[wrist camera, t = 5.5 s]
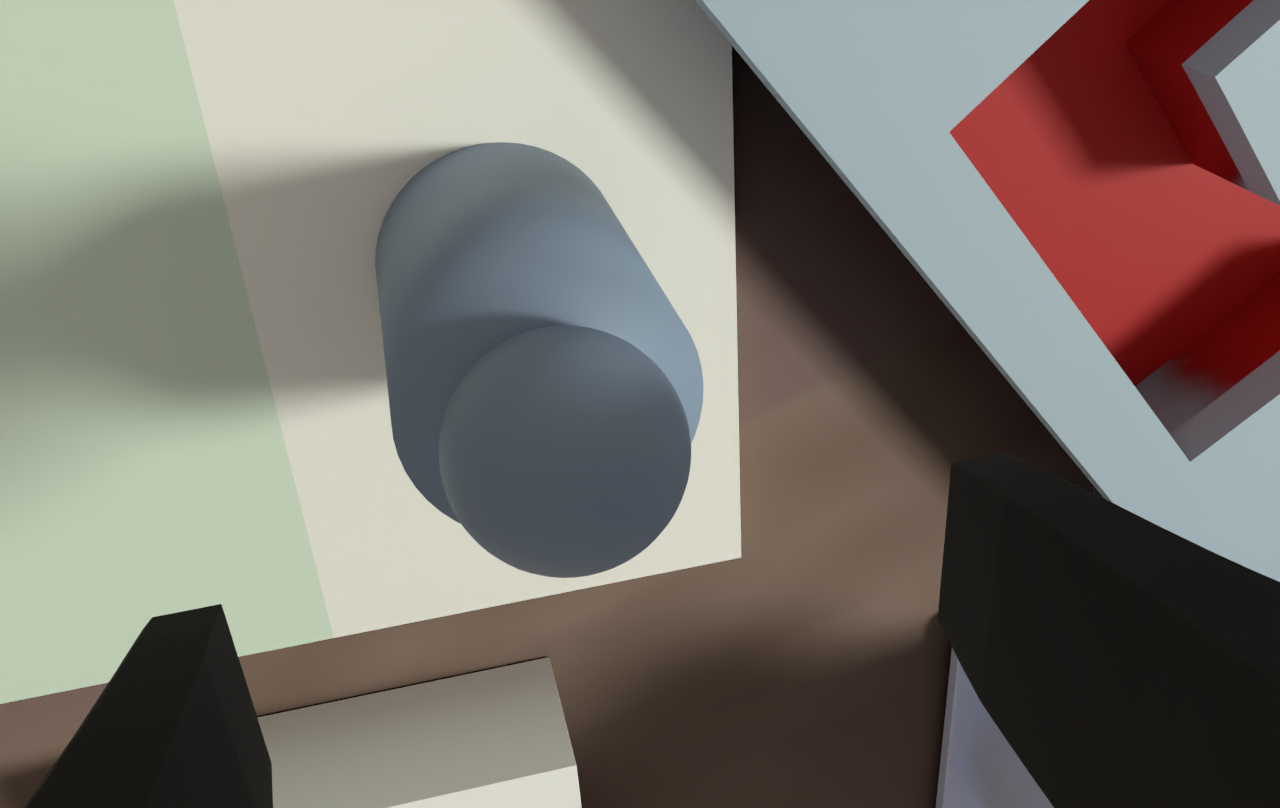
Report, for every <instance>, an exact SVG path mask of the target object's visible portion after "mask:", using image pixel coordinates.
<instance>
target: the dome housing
mask: <svg viewBox="0 0 1280 808" xmlns="http://www.w3.org/2000/svg"><path fill="white" fill-rule="evenodd" d="M257 718H258V722H259V725H260V728H261V731H262V734H263V737H264V741H265V744H266V747H267V750H268V753H269V757H270V760H271V763H272V792H273V808H582V806H581V797H580V789H579V781H578V773H577V765H576V761H575V757H574V753H573V749H572V745H571V741H570V737H569V733H568V729H567V725H566V721H565V717H564V713H563V709H562V705H561V701H560V697H559V693H558V689H557V685H556V681H555V677H554V673H553V669H552V665H551V661H550V657H547V658H542V659H538V660H533V661H528V662H523V663H518V664H513V665H509V666H504V667H499V668H494V669H489V670H484V671H480V672H475V673H470V674H465V675H460V676H455V677H451V678H446V679H441V680H436V681H431V682H426V683H422V684H417V685H412V686H407V687H402V688H397V689H393V690H388V691H383V692H378V693H373V694H368V695H364V696H359V697H354V698H349V699H344V700H339V701H335V702H330V703H325V704H320V705H315V706H310V707H306V708H301V709H296V710H291V711H286V712H281V713H277V714H272V715H267V716H262V717H257Z"/></svg>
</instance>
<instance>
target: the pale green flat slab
mask: <svg viewBox="0 0 1280 808" xmlns="http://www.w3.org/2000/svg"><path fill="white" fill-rule="evenodd" d="M496 142H508V143H520V144H525V145H530V146H535V147H538V148H541V149H544V150H547V151H550V152H552V153H554V154H556V155H558V156H560V157H562V158H564V159H566V160H568V161H569V162H570V163H572V164H573V165H575V166H576V167H578V168H579V169H580V170H581V171H582V172H583V173H585V174H586V175H587V176H588V177H589V178H590V179H591V180H592V181H593V183H594V184H595V185H596V186H597V187H598V189H599V190H600V191H601V193H602V194H603V196H604V198H605V199H606V201H607V202H608V204H609V206H610V207H611V209H612V210H613V212H614V214H615V215H616V217H617V218H618V220H619V221H620V223H621V225H622V226H623V228H624V229H625V231H626V233H627V234H628V236H629V237H630V239H631V241H632V242H633V244H634V245H635V247H636V249H637V250H638V252H639V253H640V255H641V257H642V258H643V260H644V261H645V263H646V265H647V266H648V268H649V269H650V271H651V273H652V274H653V276H654V277H655V279H656V280H657V282H658V284H659V285H660V287H661V288H662V290H663V292H664V293H665V295H666V296H667V298H668V300H669V301H670V303H671V304H672V306H673V308H674V309H675V311H676V312H677V314H678V316H679V317H680V319H681V320H682V322H683V324H684V325H685V327H686V328H687V330H688V331H689V333H690V335H691V337H692V340H693V342H694V344H695V347H696V349H697V352H698V355H699V359H700V363H701V367H702V375H703V384H704V386H703V405H702V410H701V416H700V421H699V424H698V427H697V430H696V433H695V436H694V439H693V441H692V443H691V465H690V472H689V478H688V483H687V486H686V489H685V492H684V495H683V497H682V500H681V502H680V504H679V507H678V509H677V511H676V513H675V514H674V516H673V518H672V519H671V521H670V522H669V524H668V525H667V526H666V528H665V529H664V530H663V531H662V532H661V534H660V535H659V536H658V537H657V538H656V539H655V540H654V541H653V542H652V543H651V544H650V545H649V546H648V547H647V548H646V549H645V550H643V551H642V552H641V553H639V554H638V555H637V556H635V557H634V558H632V559H630V560H629V561H627V562H625V563H623V564H621V565H619V566H617V567H615V568H613V569H610V570H607V571H604V572H601V573H597V574H593V575H589V576H583V577H576V578H556V577H547V576H542V575H537V574H532V573H528V572H525V571H522V570H519V569H517V568H515V567H513V566H510V565H508V564H506V563H504V562H503V561H501V560H499V559H498V558H496V557H495V556H493V555H492V554H490V553H489V552H487V551H486V550H485V549H484V548H483V547H482V546H480V545H479V544H478V543H477V542H476V541H475V540H474V539H473V538H472V537H471V535H470V534H469V533H468V532H467V531H466V530H465V529H464V527H463V526H462V524H460V523H458V522H456V521H454V520H453V519H451V518H450V517H448V516H447V515H445V514H443V513H442V512H440V511H439V510H438V509H437V508H436V507H435V506H433V505H432V504H431V503H430V502H429V501H427V500H426V498H425V497H424V496H423V495H422V494H421V493H420V492H419V491H418V489H417V488H416V487H415V486H414V484H413V483H412V481H411V480H410V478H409V477H408V475H407V474H406V472H405V470H404V468H403V466H402V463H401V461H400V459H399V457H398V454H397V451H396V447H395V443H394V440H393V434H392V425H391V417H390V407H389V397H388V387H387V377H386V367H385V357H384V347H383V337H382V327H381V317H380V308H379V298H378V288H377V278H376V268H375V258H376V246H377V240H378V234H379V231H380V228H381V225H382V222H383V219H384V217H385V215H386V213H387V211H388V209H389V207H390V205H391V203H392V202H393V200H394V199H395V198H396V196H397V195H398V193H399V192H400V190H401V189H402V188H403V187H404V186H405V185H406V184H407V183H408V181H409V180H410V179H411V178H412V177H414V176H415V175H416V174H417V173H418V172H419V171H421V170H422V169H423V168H424V167H426V166H428V165H429V164H431V163H432V162H434V161H435V160H437V159H439V158H441V157H443V156H445V155H447V154H449V153H451V152H453V151H456V150H459V149H462V148H465V147H468V146H473V145H479V144H484V143H496ZM736 558H741V521H740V466H739V412H738V358H737V304H736V250H735V195H734V141H733V87H732V45H731V44H730V42H729V41H728V40H727V39H726V38H725V36H724V35H723V34H722V33H721V31H720V30H719V29H718V28H717V27H716V25H715V24H714V23H713V22H712V21H711V19H710V18H709V17H708V16H707V14H706V13H705V12H704V11H703V10H702V8H701V7H700V6H699V5H698V3H697V2H696V1H695V0H0V704H2V703H7V702H12V701H17V700H22V699H27V698H32V697H37V696H43V695H48V694H53V693H58V692H63V691H68V690H73V689H78V688H83V687H88V686H93V685H98V684H103V683H108V682H109V681H110V680H111V678H112V677H113V675H114V673H115V672H116V670H117V669H118V667H119V666H120V664H121V662H122V661H123V659H124V658H125V656H126V655H127V653H128V651H129V650H130V648H131V647H132V645H133V644H134V642H135V640H136V639H137V637H138V636H139V634H140V633H141V631H142V630H143V628H144V627H145V626H146V625H147V623H148V622H149V621H150V619H151V618H152V617H156V616H162V615H167V614H172V613H177V612H182V611H187V610H193V609H198V608H203V607H208V606H213V605H219V604H222V607H223V611H224V614H225V617H226V620H227V623H228V626H229V630H230V633H231V636H232V639H233V642H234V646H235V649H236V652H237V655H238V657H240V656H245V655H250V654H255V653H260V652H265V651H270V650H275V649H280V648H285V647H291V646H296V645H301V644H306V643H311V642H316V641H321V640H326V639H331V638H336V637H341V636H346V635H351V634H356V633H361V632H366V631H371V630H377V629H382V628H387V627H392V626H397V625H402V624H407V623H412V622H417V621H422V620H427V619H432V618H437V617H442V616H447V615H452V614H458V613H463V612H468V611H473V610H478V609H483V608H488V607H493V606H498V605H503V604H508V603H513V602H518V601H523V600H528V599H533V598H538V597H544V596H549V595H554V594H559V593H564V592H569V591H574V590H579V589H584V588H589V587H594V586H599V585H604V584H609V583H614V582H619V581H625V580H630V579H635V578H640V577H645V576H650V575H655V574H660V573H665V572H670V571H675V570H680V569H685V568H690V567H695V566H700V565H705V564H711V563H716V562H721V561H726V560H731V559H736Z"/></svg>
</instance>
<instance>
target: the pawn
mask: <svg viewBox="0 0 1280 808" xmlns="http://www.w3.org/2000/svg"><path fill="white" fill-rule="evenodd" d="M375 268H376V278H377V288H378V298H379V308H380V317H381V327H382V337H383V347H384V357H385V367H386V377H387V387H388V397H389V407H390V417H391V425H392V434H393V440H394V443H395V447H396V451H397V454H398V457H399V459H400V461H401V463H402V466H403V468H404V470H405V472H406V474H407V475H408V477H409V478H410V480H411V481H412V483H413V484H414V486H415V487H416V488H417V489H418V491H419V492H420V493H421V494H422V495H423V496H424V497H425V498H426V500H427V501H429V502H430V503H431V504H432V505H433V506H435V507H436V508H437V509H438V510H439V511H440V512H442V513H443V514H445V515H447V516H448V517H450V518H451V519H453V520H454V521H456V522H458V523H460V524H462V526H463V527H464V529H465V530H466V531H467V532H468V533H469V534H470V535H471V537H472V538H473V539H474V540H475V541H476V542H477V543H478V544H479V545H480V546H482V547H483V548H484V549H485V550H486V551H487V552H489V553H490V554H492V555H493V556H495V557H496V558H498V559H499V560H501V561H503V562H504V563H506V564H508V565H510V566H513V567H515V568H517V569H519V570H522V571H525V572H528V573H532V574H537V575H542V576H547V577H556V578H576V577H583V576H589V575H593V574H597V573H601V572H604V571H607V570H610V569H613V568H615V567H617V566H619V565H621V564H623V563H625V562H627V561H629V560H630V559H632V558H634V557H635V556H637V555H638V554H639V553H641V552H642V551H643V550H645V549H646V548H647V547H648V546H649V545H650V544H651V543H652V542H653V541H654V540H655V539H656V538H657V537H658V536H659V535H660V534H661V532H662V531H663V530H664V529H665V528H666V526H667V525H668V524H669V522H670V521H671V519H672V518H673V516H674V514H675V513H676V511H677V509H678V507H679V504H680V502H681V500H682V497H683V495H684V492H685V489H686V486H687V483H688V478H689V472H690V465H691V443H692V441H693V439H694V436H695V433H696V430H697V427H698V424H699V421H700V416H701V410H702V405H703V386H704V384H703V375H702V367H701V363H700V359H699V355H698V352H697V349H696V347H695V344H694V342H693V340H692V337H691V335H690V333H689V331H688V330H687V328H686V327H685V325H684V324H683V322H682V320H681V319H680V317H679V316H678V314H677V312H676V311H675V309H674V308H673V306H672V304H671V303H670V301H669V300H668V298H667V296H666V295H665V293H664V292H663V290H662V288H661V287H660V285H659V284H658V282H657V280H656V279H655V277H654V276H653V274H652V273H651V271H650V269H649V268H648V266H647V265H646V263H645V261H644V260H643V258H642V257H641V255H640V253H639V252H638V250H637V249H636V247H635V245H634V244H633V242H632V241H631V239H630V237H629V236H628V234H627V233H626V231H625V229H624V228H623V226H622V225H621V223H620V221H619V220H618V218H617V217H616V215H615V214H614V212H613V210H612V209H611V207H610V206H609V204H608V202H607V201H606V199H605V198H604V196H603V194H602V193H601V191H600V190H599V189H598V187H597V186H596V185H595V184H594V183H593V181H592V180H591V179H590V178H589V177H588V176H587V175H586V174H585V173H583V172H582V171H581V170H580V169H579V168H578V167H576V166H575V165H573V164H572V163H570V162H569V161H568V160H566V159H564V158H562V157H560V156H558V155H556V154H554V153H552V152H550V151H547V150H544V149H541V148H538V147H535V146H530V145H525V144H520V143H508V142H496V143H484V144H479V145H473V146H468V147H465V148H462V149H459V150H456V151H453V152H451V153H449V154H447V155H445V156H443V157H441V158H439V159H437V160H435V161H434V162H432V163H431V164H429V165H428V166H426V167H424V168H423V169H422V170H421V171H419V172H418V173H417V174H416V175H415V176H414V177H412V178H411V179H410V180H409V181H408V183H407V184H406V185H405V186H404V187H403V188H402V189H401V190H400V192H399V193H398V195H397V196H396V198H395V199H394V200H393V202H392V203H391V205H390V207H389V209H388V211H387V213H386V215H385V217H384V219H383V222H382V225H381V228H380V231H379V234H378V240H377V246H376V258H375Z"/></svg>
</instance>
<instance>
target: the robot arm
mask: <svg viewBox="0 0 1280 808" xmlns="http://www.w3.org/2000/svg"><path fill="white" fill-rule="evenodd" d="M938 620H939V622H940V624H941V626H942V628H943V630H944V632H945V634H946V636H947V638H948V640H949V642H950V644H951V646H952V652H951V662H950V672H949V681H948V691H947V701H946V711H945V721H944V731H943V741H942V750H941V760H940V770H939V780H938V790H937V800H936V808H1280V582H1279V581H1276V580H1274V579H1272V578H1269V577H1267V576H1265V575H1262V574H1260V573H1258V572H1255V571H1253V570H1251V569H1249V568H1246V567H1244V566H1242V565H1240V564H1238V563H1236V562H1233V561H1231V560H1229V559H1227V558H1225V557H1223V556H1220V555H1218V554H1216V553H1214V552H1212V551H1210V550H1208V549H1205V548H1203V547H1201V546H1199V545H1197V544H1195V543H1193V542H1191V541H1189V540H1187V539H1185V538H1182V537H1180V536H1178V535H1176V534H1174V533H1172V532H1170V531H1168V530H1166V529H1164V528H1162V527H1160V526H1158V525H1156V524H1154V523H1152V522H1150V521H1148V520H1146V519H1144V518H1142V517H1140V516H1138V515H1136V514H1134V513H1132V512H1130V511H1128V510H1126V509H1124V508H1122V507H1120V506H1118V505H1116V504H1114V503H1112V502H1110V501H1108V500H1106V499H1104V498H1102V497H1100V496H1098V495H1096V494H1094V493H1092V492H1090V491H1088V490H1086V489H1084V488H1082V487H1080V486H1078V485H1076V484H1074V483H1072V482H1070V481H1068V480H1066V479H1064V478H1062V477H1060V476H1058V475H1056V474H1054V473H1052V472H1049V471H1047V470H1045V469H1043V468H1041V467H1039V466H1037V465H1035V464H1032V463H1030V462H1028V461H1026V460H1023V459H1021V458H1019V457H1016V456H1014V455H1012V454H1009V453H1007V452H1006V453H1001V454H996V455H991V456H986V457H981V458H975V459H970V460H965V461H960V462H955V463H951V475H950V486H949V497H948V509H947V520H946V531H945V543H944V554H943V565H942V577H941V588H940V599H939V611H938ZM24 808H273V792H272V763H271V760H270V757H269V753H268V750H267V747H266V744H265V741H264V737H263V734H262V731H261V728H260V725H259V722H258V718H257V715H256V712H255V709H254V706H253V703H252V699H251V696H250V693H249V690H248V687H247V684H246V680H245V677H244V674H243V671H242V668H241V665H240V661H239V658H238V655H237V652H236V649H235V646H234V642H233V639H232V636H231V633H230V630H229V626H228V623H227V620H226V617H225V614H224V611H223V607H222V604H219V605H213V606H208V607H203V608H198V609H193V610H187V611H182V612H177V613H172V614H167V615H162V616H156V617H152V618H151V619H150V621H149V622H148V623H147V625H146V626H145V627H144V628H143V630H142V631H141V633H140V634H139V636H138V637H137V639H136V640H135V642H134V644H133V645H132V647H131V648H130V650H129V651H128V653H127V655H126V656H125V658H124V659H123V661H122V662H121V664H120V666H119V667H118V669H117V670H116V672H115V673H114V675H113V677H112V678H111V680H110V681H109V683H108V684H107V686H106V688H105V689H104V691H103V692H102V694H101V695H100V697H99V699H98V700H97V702H96V703H95V705H94V706H93V708H92V709H91V711H90V712H89V714H88V715H87V717H86V718H85V720H84V721H83V723H82V725H81V726H80V728H79V729H78V731H77V732H76V734H75V735H74V737H73V738H72V740H71V741H70V742H69V744H68V745H67V747H66V748H65V750H64V751H63V753H62V754H61V756H60V757H59V758H58V760H57V761H56V763H55V764H54V766H53V767H52V769H51V770H50V771H49V773H48V774H47V776H46V777H45V779H44V780H43V782H42V783H41V785H40V786H39V787H38V789H37V790H36V792H35V793H34V795H33V796H32V798H31V799H30V800H29V802H28V803H27V805H26V806H25V807H24Z"/></svg>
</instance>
